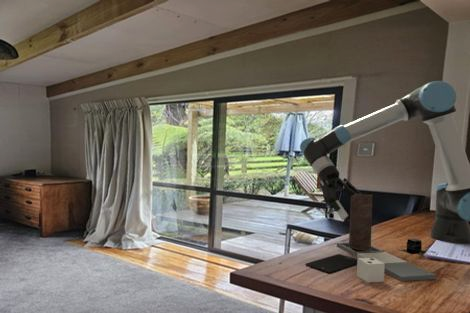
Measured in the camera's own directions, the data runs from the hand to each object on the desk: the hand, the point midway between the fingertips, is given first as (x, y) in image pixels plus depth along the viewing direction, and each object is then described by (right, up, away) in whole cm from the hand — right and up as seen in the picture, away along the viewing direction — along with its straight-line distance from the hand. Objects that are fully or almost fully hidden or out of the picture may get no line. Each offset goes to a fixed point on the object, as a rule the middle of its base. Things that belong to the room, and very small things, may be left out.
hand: (357, 216), depth 123 cm
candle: (+1, -12, 0) cm, 12 cm away
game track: (+3, -12, -11) cm, 17 cm away
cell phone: (-13, -12, -16) cm, 24 cm away
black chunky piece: (+21, -13, +2) cm, 25 cm away
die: (-6, -12, -27) cm, 31 cm away
